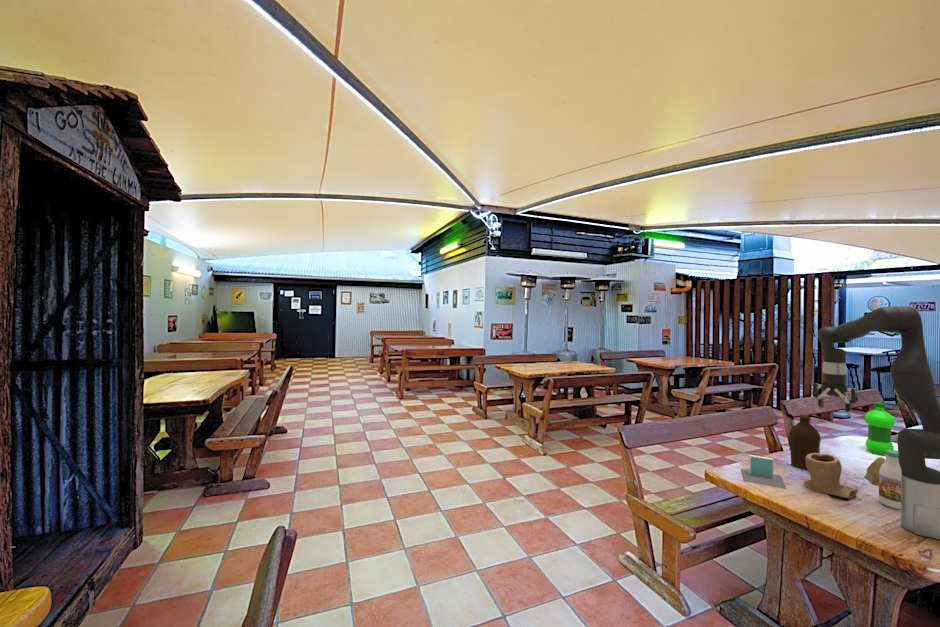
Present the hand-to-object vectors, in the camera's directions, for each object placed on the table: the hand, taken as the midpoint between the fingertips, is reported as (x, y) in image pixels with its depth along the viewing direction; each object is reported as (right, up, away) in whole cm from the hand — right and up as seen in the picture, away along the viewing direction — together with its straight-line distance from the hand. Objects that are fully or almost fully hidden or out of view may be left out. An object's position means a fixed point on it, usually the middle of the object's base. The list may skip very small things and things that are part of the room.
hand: (834, 409), depth 166 cm
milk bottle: (-1, -29, -25) cm, 38 cm away
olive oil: (-7, -29, +7) cm, 31 cm away
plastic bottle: (+46, -28, +25) cm, 60 cm away
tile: (-33, -28, -2) cm, 43 cm away
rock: (+12, -29, -5) cm, 32 cm away
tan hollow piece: (-17, -29, -15) cm, 37 cm away
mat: (-35, -29, -4) cm, 46 cm away
